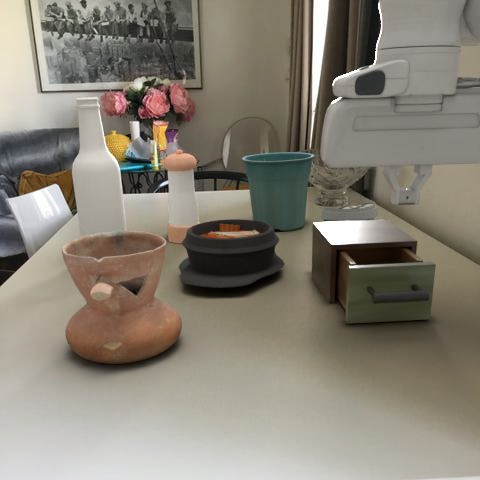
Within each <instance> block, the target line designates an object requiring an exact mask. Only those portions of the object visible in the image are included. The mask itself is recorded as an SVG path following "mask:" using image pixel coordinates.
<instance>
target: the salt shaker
mask: <svg viewBox="0 0 480 480" xmlns="http://www.w3.org/2000/svg"><path fill="white" fill-rule="evenodd" d="M162 163H163V164H162V166H163V168H164V170H166V171H167V182H168V199H167V215H168V224H167V235H168V236H167V237H168V242H170V243H173V244H182V241H183V240H184V239H185V237H186V234H187V230H188V229H189V228H190V227H192V226H194V225H197V224H200V223H201V222H200V218H199V217H200V216H199V205H198V204H199V203H198V200H197V193H196V191H195V189H196V188H195V177H194V175H195V174H194V169H196V167H197V159H196V157H195V156H194V155H192V154H190V153H185V152H184V151H183V150H182V149H176V150H175V152H174V153H171V154H168V155H167V156H165V158H164V159H163V161H162Z"/></svg>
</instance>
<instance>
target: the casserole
mask: <svg viewBox="0 0 480 480" xmlns="http://www.w3.org/2000/svg"><path fill="white" fill-rule="evenodd" d="M279 242H280V237H279V236H278V235H277V234H276V233H275V230H274V229H273V226H271V225H270V224H267V223H264V222H260V221H254V220H253V219H238V218H237V219H236V218H235V219H233V218H232V219H218V220H209V221H205V222H200V224H197V225H194V226H192V227H190V228H189V229H188V230H187V234H186V237H185V239H184V240H183V241H182V243H181V245H182V247H184V248H185V250H186V253H187V257H186V258H185V259H183V260H182V261H181V262H180V263H179V264H178V269H179V271H180V273H181V275H180V276H181V278H180V279H181V281H182V282H183V283H185V284H186V285H191V286H194V287H202V288H212V289H227V288H228V289H231V288H241V287H246V286H248V285H251V284H253V283H255V282H256V281H258V280H260V279H263V278H265V277H269V276H271V275H274V274H276V273H277V272H279V271H280V270H282V268H283V267H285V266H284V265H285V262H284V260H283V259H282V257H280V256H279V255H277V252H276V246H277V245H278V244H279Z"/></svg>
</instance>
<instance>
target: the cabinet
mask: <svg viewBox="0 0 480 480" xmlns="http://www.w3.org/2000/svg"><path fill="white" fill-rule="evenodd" d="M311 240H312V241H311V242H312V243H311V244H312V245H311V278H312V280H313V282H314V283H315V285H316V287H317V289H318V290H319V292H320V294H321V295H323V296H325V298H326V300H327V302H328V303H329V304H341V302H340V301H339V299H338V298H337V296H336V295H335V280H336V253H337V250H344V249H366V248H387V247H406V248H408V249H409V250H410V251H411V252H413V253H414V254H415V255H417V252H418V251H417V250H418V240H417V239H416V238H415V237H413V236H411V235H410V234H408V233H407V232H405V231H404V230H403V229H401V228H399V227H398V226H397V225H396V224H395V223H392V222H391V221H390V220H388V219H373V220H361V221H339V222H324V221H319V222H318V221H317V222H312V239H311Z"/></svg>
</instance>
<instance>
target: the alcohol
mask: <svg viewBox="0 0 480 480" xmlns="http://www.w3.org/2000/svg"><path fill="white" fill-rule="evenodd" d="M75 101H76V109H77V113H78V114H77V117H78V119H77V120H78V134H79V135H78V136H79V151H78V154H76V157H75V158H74V160H73V162H72V166H71V176H72V184H73V190H74V197H75V205H76V212H77V213H76V214H77V220H78V227H79V234H80V237H83V236H87V235H93V234H97V233H102V232H105V233H107V232H115V231H128V230H127V229H128V228H127V220H126V219H127V218H126V210H125V202H124V191H123V183H122V174H121V167H120V165H119V161H118V159H116V157H115V156H114V155H113V154H112V153H111V152H110V150H109V148H108V146H107V142H106V137H105V133H104V132H105V131H104V127H103V122H102V117H101V111H100V107H101V105H100V103H99V101H100V98H99V97H98V96H86V97H85V96H84V97H76V99H75Z"/></svg>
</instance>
